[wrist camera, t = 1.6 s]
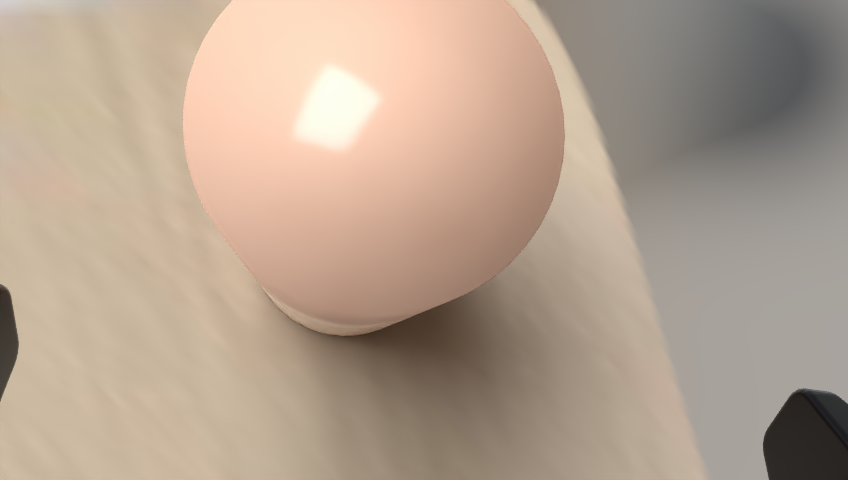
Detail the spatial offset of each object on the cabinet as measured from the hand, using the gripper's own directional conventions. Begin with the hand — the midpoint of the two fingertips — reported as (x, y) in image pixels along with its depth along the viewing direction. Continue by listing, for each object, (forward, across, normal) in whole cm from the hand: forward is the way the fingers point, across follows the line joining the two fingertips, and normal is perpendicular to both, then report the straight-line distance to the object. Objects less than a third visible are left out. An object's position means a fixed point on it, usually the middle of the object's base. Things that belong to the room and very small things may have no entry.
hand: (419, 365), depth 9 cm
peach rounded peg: (+11, +1, +6) cm, 13 cm away
